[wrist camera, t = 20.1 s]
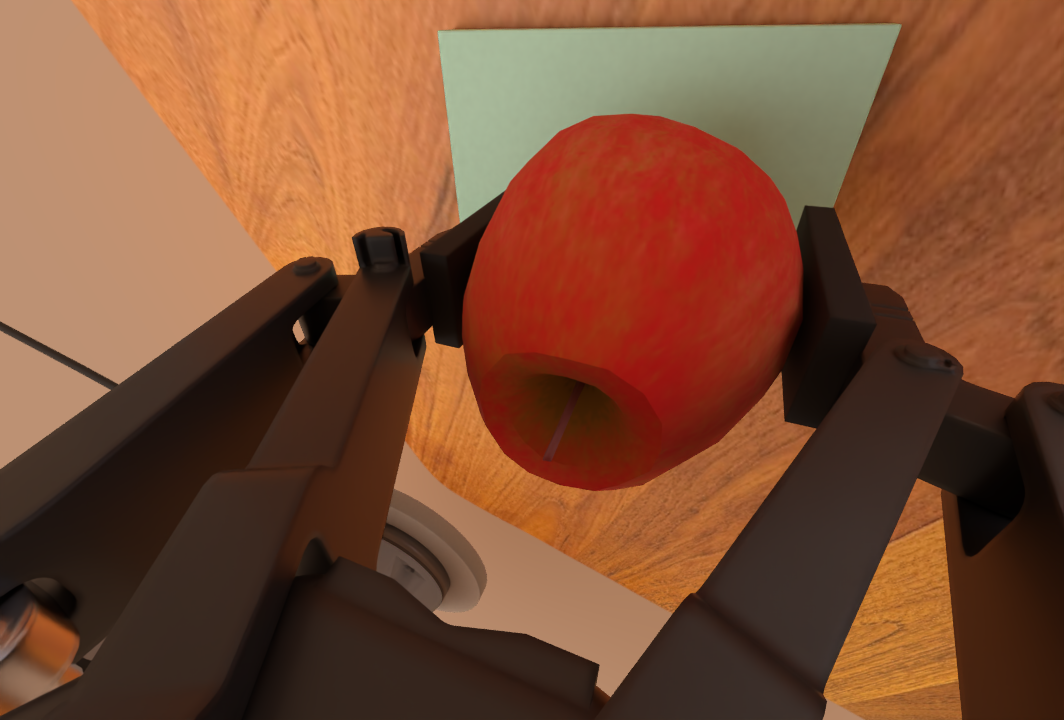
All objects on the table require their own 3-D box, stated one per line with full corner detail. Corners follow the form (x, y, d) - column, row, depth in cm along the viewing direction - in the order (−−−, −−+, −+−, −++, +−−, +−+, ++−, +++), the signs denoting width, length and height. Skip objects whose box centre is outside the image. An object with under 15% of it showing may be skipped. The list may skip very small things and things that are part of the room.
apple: (555, 70, 14) (288, 155, 6) (853, 112, 12) (1036, 318, 4) (535, 301, 19) (376, 509, 11) (740, 357, 17) (723, 658, 9)
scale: (481, 317, 26) (456, 346, 24) (452, 29, 18) (410, 32, 16) (764, 373, 22) (765, 415, 20) (893, 23, 14) (919, 25, 11)
